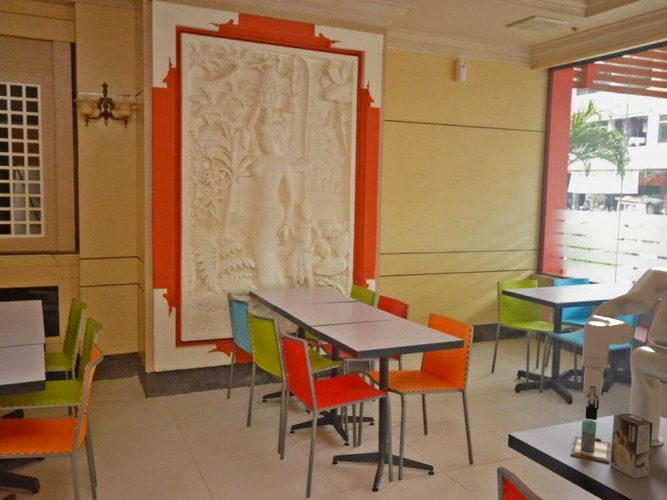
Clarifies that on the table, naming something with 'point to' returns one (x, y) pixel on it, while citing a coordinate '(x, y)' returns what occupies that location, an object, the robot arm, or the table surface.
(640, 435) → the coffee box
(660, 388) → the robot arm
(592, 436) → the teal capped cylinder
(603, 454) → the clipboard
